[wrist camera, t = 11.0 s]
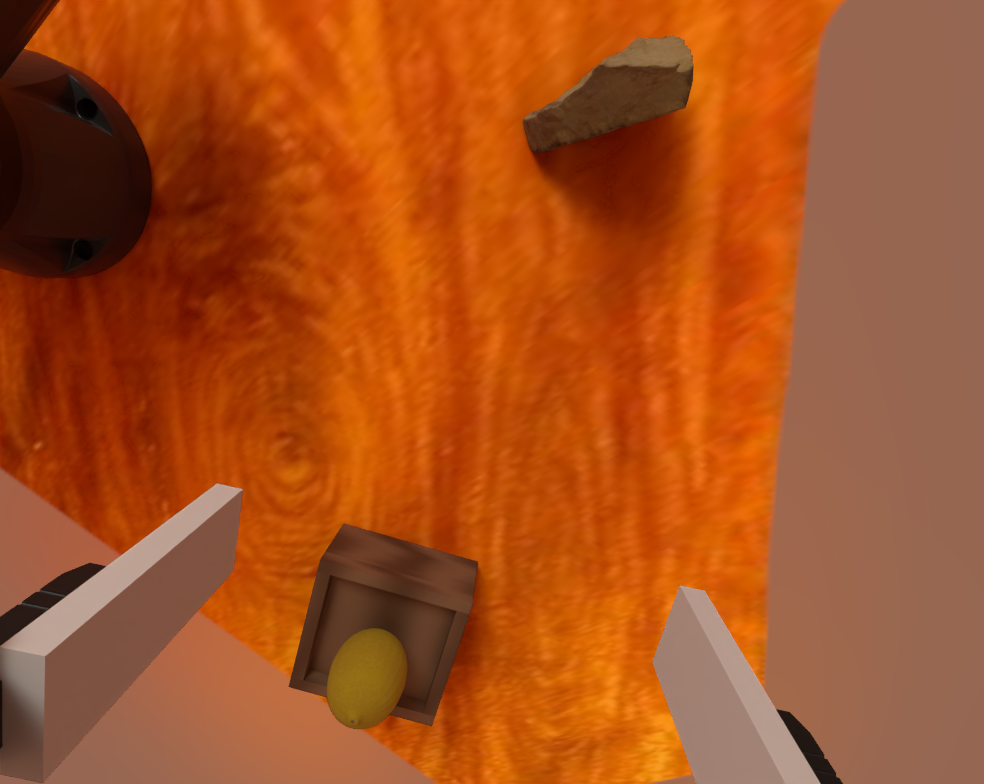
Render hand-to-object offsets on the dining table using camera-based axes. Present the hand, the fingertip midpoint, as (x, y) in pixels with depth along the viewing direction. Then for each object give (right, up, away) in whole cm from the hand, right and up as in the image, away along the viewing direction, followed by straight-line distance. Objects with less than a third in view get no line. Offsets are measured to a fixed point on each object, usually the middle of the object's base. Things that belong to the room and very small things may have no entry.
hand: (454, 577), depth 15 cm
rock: (+8, +26, +21) cm, 34 cm away
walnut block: (-8, -13, +31) cm, 35 cm away
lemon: (-8, -14, +27) cm, 31 cm away
